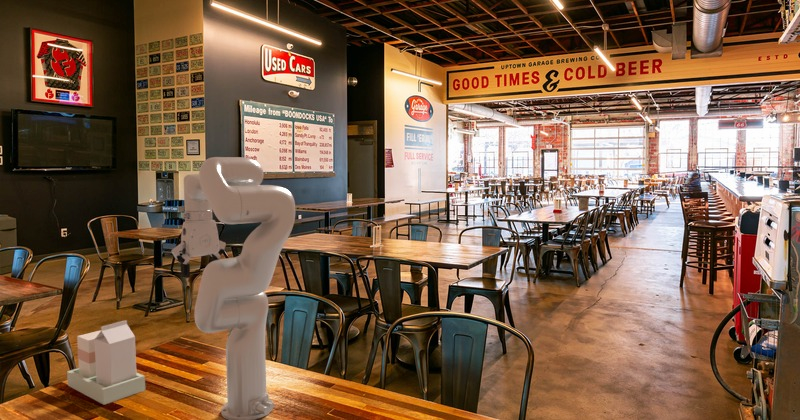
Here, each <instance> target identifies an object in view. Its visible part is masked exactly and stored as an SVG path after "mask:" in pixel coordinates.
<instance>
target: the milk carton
mask: <svg viewBox="0 0 800 420" xmlns="http://www.w3.org/2000/svg"><path fill="white" fill-rule="evenodd" d="M100 329H101V332H100V333H99V334H98V335H97V337H96V338H95V339H94V340H95V360H96V380H97V384H99V385H102V386H104V387H108V386H111V385H114V384H117V383H121V382H124V381H127V380H130V379H133V378H136V377H137V374H136V372H137V359H136V358H137V357H136V356H137V354H136V336H135V334H134V333H133V331H132V330H131V328H130V326H129V325H128V319H126V320H122V321H117V322H113V323H111V324H106V325H102V326H100Z"/></svg>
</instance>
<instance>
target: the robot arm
mask: <svg viewBox="0 0 800 420" xmlns="http://www.w3.org/2000/svg"><path fill="white" fill-rule="evenodd" d="M199 167H200V169H199V172H198V173H195V174H193V173H191V174H186V175H185V176H184V178H183V197H184V198H183V202H184V211H183V212H184V213H182V214H181V215H180V217H181V219H184V222H183V223H182V228H181V235H180V236H181V237H180V243H179V244H178V245H176V246H175V247H174V248H172V249H171V251H170V252H171V254H172V255H173V257H174V259H175V260H176V261H177V262H178V264H180V274H181V277H182V278H185V279H190V278H191V269H190V267H191V266H190V263H189V262H190V260H191V259H192V258H197V257H203V256H210V257H211V258H210V262H209V263H208V264H207V265H206V266H205V268H204V269H203V271H202V275H201V279H200V281H199V282H200V283H199V286H198V290H197V291H198V292H197V296H196V300H195V306H194V314H193V315H194V322H195V325H196V327H197V328H198V330H199V331H201V332H203V333H205V334H213V333H214V334H215V333H220V332H224V331H228V330H231V332H230V334H229V335H228V338H227V341H226V344H225V359H226V360H225V362H226V365H225V366H226V391H227V394H226V395H227V399H226V400H227V402H226V403H224V404H223V405H222V407H221V411H220V413H221V416H222V418H223V419H225V420H258V419H261V418H263V417H265V416H268V415H270V413H271V412H272V410H273V409H274V408H275V404H274V402H273V400H272V399H270V398H269V397H270V396H269V395H270V394H269V393H267V373H266V372H267V371H266V370H267V369H266V368H267V365H266V364H267V363H266V359H267V358H266V326H267V317H268V313H269V299H268V295H267V294H266V291H267V290H268V288H269V286H270V284H271V283H272V279H273V278H274V277H273V276H274V274H275V273H274V272H275V270H276V267H277V264H278V261H279V257H280V254H281V251H282V250H283V247H284V245H285V244H286V242H287V240H288V239H289V236H290V235H291V232H292V230H293V227H294V225H295V220H296V202H295V198H294V195H293V194H292V192H291V191H290V190H289V189H287V188H286V187H282V186H281V185H274V184H273V185H272V184H262V183H263V181H264V176H265V175H264V169H263V167H262V166H261V164H260V163H259V162H258V161H256V160H255V159H253V158H249V157H243V156H242V157H240V156H239V157H238V156H235V157H233V156H231V157H229V156H227V157H223V156H214V157H208V158H207V159H205V160H204V161H203V162H202V164H201V165H200V166H199ZM213 213H214V215H215V217H216V218H217V219H218V221H219V222H221V223H223V224H226V225H238V224H239V225H240V224H254V223H255V224H256V223H261V224H260V225H258V226H257V227H256V228H255V229H254V230H252V231H251V232H250V234H249V235H248V236H247V237H246V239H245V240H244V243H243V245H242V249H241V252H240V254H239V255H238V256H235V257H229V258H221V257H222V255H223V253H224V252H225V248H226V245H227V244H226V242H225V241H222V240H220V239H219V238H220V237H219V231H218V227H217V222H216V220H215V219H213ZM180 252H181V254H182V255H180Z"/></svg>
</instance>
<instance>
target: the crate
mask: <svg viewBox="0 0 800 420" xmlns="http://www.w3.org/2000/svg"><path fill="white" fill-rule="evenodd" d="M66 372H67V373H66V374H67V375H66V376H67V379H66V380H67V386H68V387H69V388H72V389H73V390H76V391H77V392H79V393H81V394H83V395H84V396H87V397H89V398H90V399H92V400H94V401H96V402H98V403H99V404H102V405H103V406H104V405H107V404H111V403H114V402H116V401H119V400H122V399H125V398H128V397H131V396H134V395H136V394H139V393H141V392H142V393H143V392H145V391H146V376H145V375H143V374H141V373H139V372H137V371H136V374H137V377H136V378H133V379H130V380H127V381H124V382H121V383H117V384H114V385H111V386H108V387H104V386H102V385H99V384H97V380H96V376H94V377H91V378H88V379H87V378H85V377H83V376H81V375H79V367H78V368H73V369H71V370H67V371H66Z"/></svg>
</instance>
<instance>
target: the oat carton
mask: <svg viewBox="0 0 800 420" xmlns="http://www.w3.org/2000/svg"><path fill="white" fill-rule="evenodd" d="M100 332H101V330H96V331H93V332H89V333H85V334H81V335H76V337H77V338H76V340H77V343H76V344H77V359H78V368H79V375H81V376H83V377H85V378H87V379H88V378H91V377H94V376H96V360H95V340H94V339H95V338H96V337H97V335H98V334H99V333H100Z"/></svg>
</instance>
